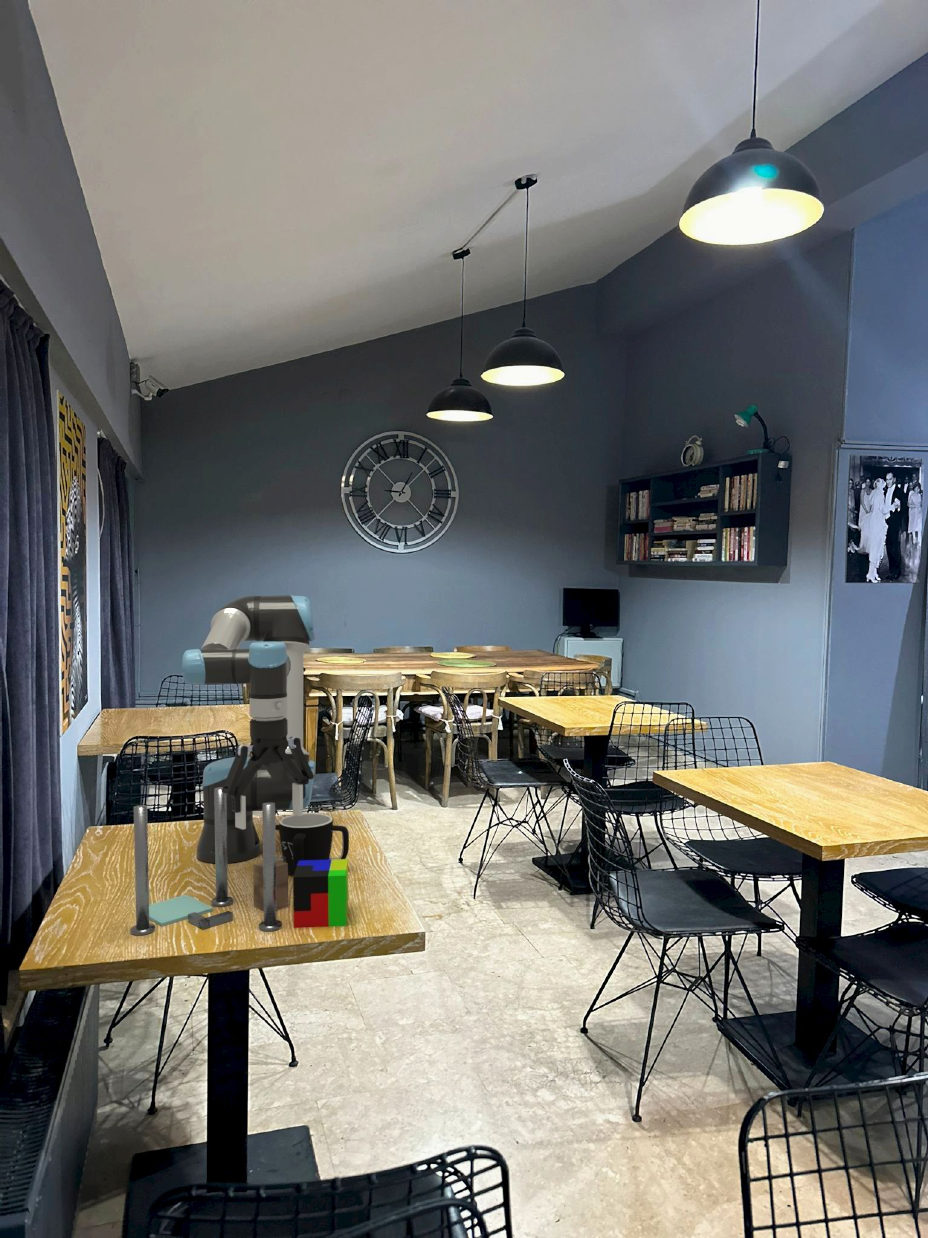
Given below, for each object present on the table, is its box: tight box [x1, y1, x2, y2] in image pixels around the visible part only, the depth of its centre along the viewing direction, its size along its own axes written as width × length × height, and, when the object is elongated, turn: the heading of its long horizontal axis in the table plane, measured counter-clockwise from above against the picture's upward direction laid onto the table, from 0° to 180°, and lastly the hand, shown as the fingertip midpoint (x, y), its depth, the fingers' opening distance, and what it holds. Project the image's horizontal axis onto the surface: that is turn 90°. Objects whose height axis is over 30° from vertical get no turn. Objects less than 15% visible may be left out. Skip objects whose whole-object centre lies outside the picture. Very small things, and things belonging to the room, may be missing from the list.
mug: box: [275, 812, 350, 876], centre depth 200 cm, size 16×16×12 cm
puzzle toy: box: [292, 858, 350, 929], centre depth 172 cm, size 10×10×10 cm
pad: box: [149, 894, 214, 927], centre depth 176 cm, size 11×11×1 cm
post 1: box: [130, 804, 156, 937], centre depth 165 cm, size 4×4×24 cm
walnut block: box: [252, 859, 289, 913], centre depth 178 cm, size 5×5×9 cm
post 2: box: [210, 787, 234, 908], centre depth 180 cm, size 4×4×24 cm
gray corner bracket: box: [187, 910, 234, 930], centre depth 171 cm, size 6×6×2 cm
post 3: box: [258, 803, 283, 933], centre depth 167 cm, size 4×4×24 cm
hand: (270, 821), depth 177 cm, fingers open, 13 cm apart
